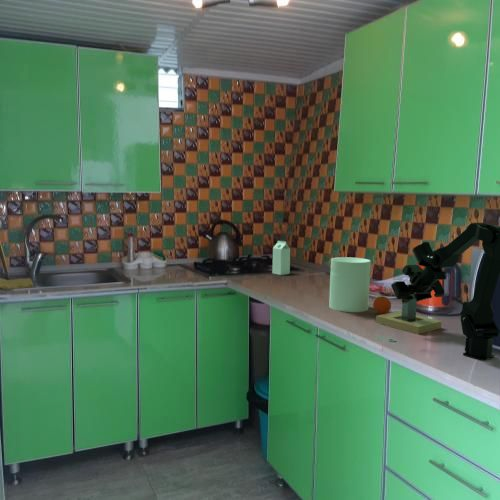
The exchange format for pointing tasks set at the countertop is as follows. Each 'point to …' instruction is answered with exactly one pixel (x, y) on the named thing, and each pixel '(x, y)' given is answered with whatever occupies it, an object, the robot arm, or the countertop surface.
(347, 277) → the canister
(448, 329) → the countertop surface
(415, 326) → the olive square-hole block
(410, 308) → the bracket
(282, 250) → the milk carton
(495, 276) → the robot arm
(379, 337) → the mounting bracket
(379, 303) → the clementine
